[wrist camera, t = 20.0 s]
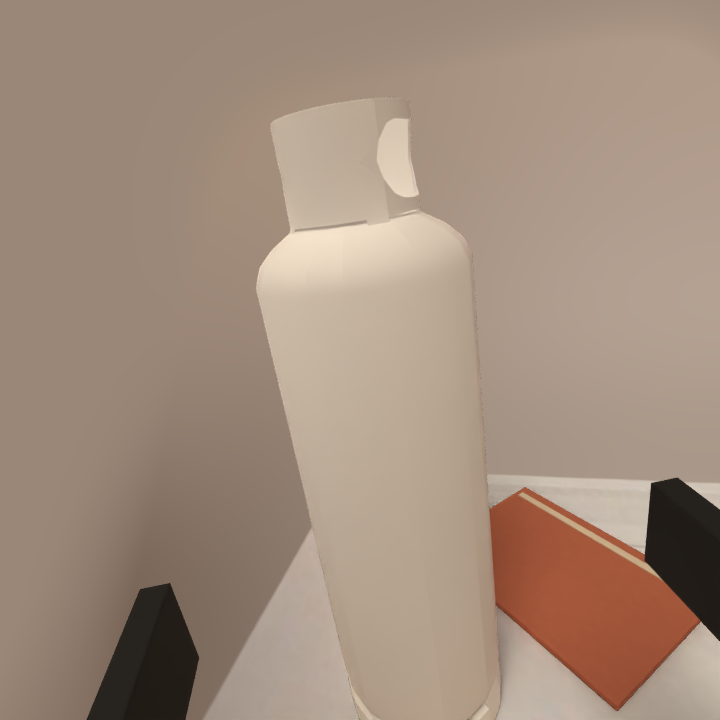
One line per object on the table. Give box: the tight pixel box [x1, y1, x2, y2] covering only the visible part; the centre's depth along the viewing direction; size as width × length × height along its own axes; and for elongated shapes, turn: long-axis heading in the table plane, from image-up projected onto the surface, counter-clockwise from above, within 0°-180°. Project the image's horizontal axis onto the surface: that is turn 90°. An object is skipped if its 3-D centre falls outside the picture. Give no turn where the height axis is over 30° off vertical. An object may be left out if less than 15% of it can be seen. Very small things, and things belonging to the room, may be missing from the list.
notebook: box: [489, 487, 701, 711], centre depth 30 cm, size 14×10×1 cm
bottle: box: [256, 97, 501, 720], centre depth 21 cm, size 8×8×28 cm
